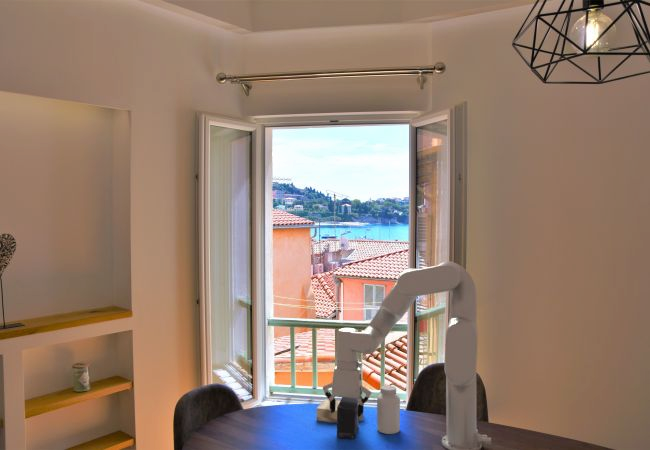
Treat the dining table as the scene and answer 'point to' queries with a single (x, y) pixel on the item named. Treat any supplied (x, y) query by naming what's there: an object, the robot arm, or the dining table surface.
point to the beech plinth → (327, 412)
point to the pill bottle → (388, 410)
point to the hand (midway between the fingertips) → (346, 413)
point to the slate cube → (361, 417)
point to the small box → (347, 418)
